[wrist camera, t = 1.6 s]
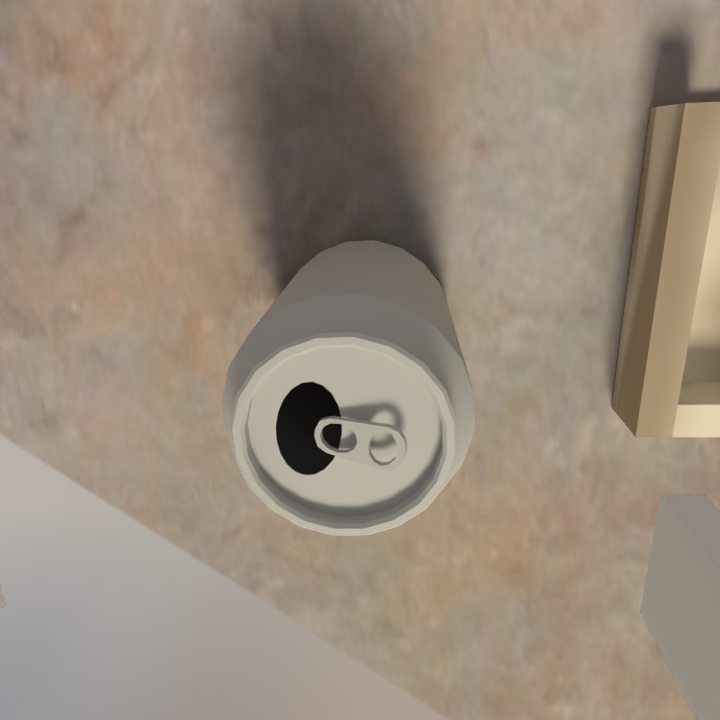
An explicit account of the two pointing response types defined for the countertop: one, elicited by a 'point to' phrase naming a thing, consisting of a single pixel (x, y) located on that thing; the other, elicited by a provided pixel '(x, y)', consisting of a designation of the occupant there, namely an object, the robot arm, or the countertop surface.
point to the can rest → (674, 281)
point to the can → (351, 393)
